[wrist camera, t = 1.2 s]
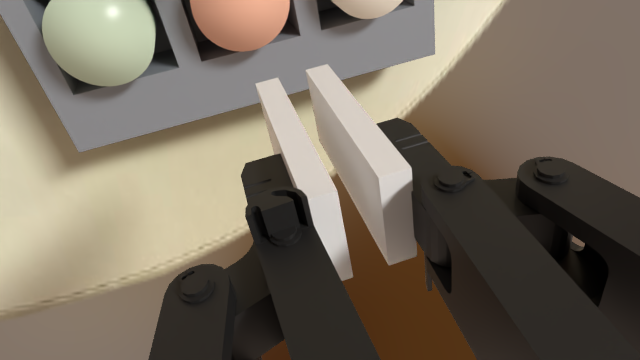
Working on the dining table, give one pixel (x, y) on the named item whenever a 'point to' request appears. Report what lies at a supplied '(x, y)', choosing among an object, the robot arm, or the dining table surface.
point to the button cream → (367, 7)
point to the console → (216, 64)
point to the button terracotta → (240, 21)
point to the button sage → (101, 38)
